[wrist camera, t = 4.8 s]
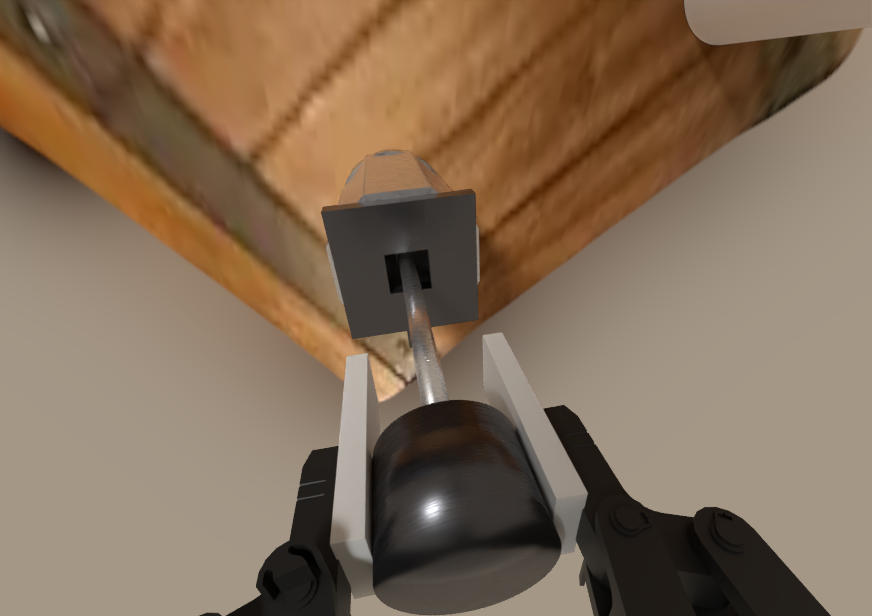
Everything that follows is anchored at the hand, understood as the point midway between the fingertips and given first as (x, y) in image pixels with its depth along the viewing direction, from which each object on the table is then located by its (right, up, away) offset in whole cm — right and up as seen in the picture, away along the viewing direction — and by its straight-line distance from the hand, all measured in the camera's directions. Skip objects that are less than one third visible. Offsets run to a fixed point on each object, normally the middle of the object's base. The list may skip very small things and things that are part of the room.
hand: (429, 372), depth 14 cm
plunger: (-2, +7, +11) cm, 13 cm away
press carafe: (-3, +11, +21) cm, 24 cm away
